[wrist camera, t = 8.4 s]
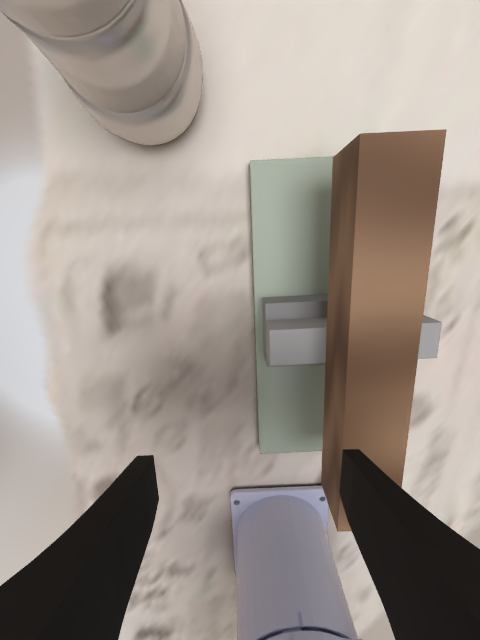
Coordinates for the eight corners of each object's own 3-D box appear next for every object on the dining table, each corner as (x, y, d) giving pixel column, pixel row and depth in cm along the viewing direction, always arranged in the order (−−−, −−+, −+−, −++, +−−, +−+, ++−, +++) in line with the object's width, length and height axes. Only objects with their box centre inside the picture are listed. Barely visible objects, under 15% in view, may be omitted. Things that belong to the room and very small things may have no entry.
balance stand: (385, 438, 23) (425, 492, 18) (258, 444, 23) (264, 499, 18) (414, 157, 17) (481, 124, 13) (249, 165, 18) (254, 135, 13)
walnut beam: (370, 481, 18) (396, 529, 15) (321, 484, 18) (337, 531, 15) (399, 154, 13) (446, 129, 10) (332, 157, 13) (360, 133, 10)
